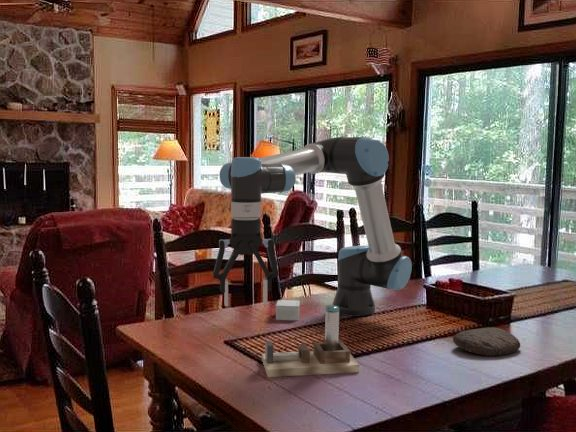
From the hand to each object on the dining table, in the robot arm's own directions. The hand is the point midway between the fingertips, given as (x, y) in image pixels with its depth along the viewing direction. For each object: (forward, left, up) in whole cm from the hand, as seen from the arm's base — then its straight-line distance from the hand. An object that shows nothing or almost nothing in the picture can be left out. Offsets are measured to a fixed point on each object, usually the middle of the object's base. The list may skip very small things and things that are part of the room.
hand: (245, 304), depth 157 cm
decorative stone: (-71, -6, -18) cm, 74 cm away
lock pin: (-10, 0, -15) cm, 18 cm away
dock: (-17, 0, -18) cm, 24 cm away
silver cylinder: (-23, 0, -16) cm, 28 cm away
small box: (-19, -46, -18) cm, 53 cm away
